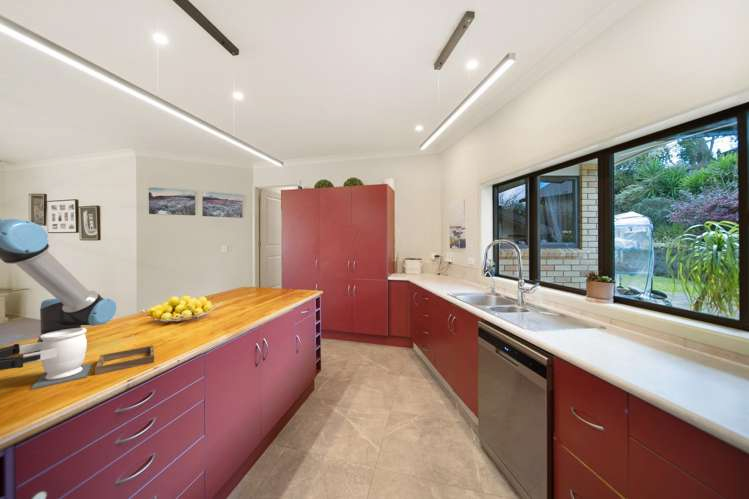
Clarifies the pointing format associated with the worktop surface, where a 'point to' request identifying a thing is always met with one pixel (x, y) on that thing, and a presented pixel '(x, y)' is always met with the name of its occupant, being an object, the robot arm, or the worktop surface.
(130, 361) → the brown rectangular frame
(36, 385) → the mat
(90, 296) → the robot arm
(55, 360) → the jar
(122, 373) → the worktop surface
